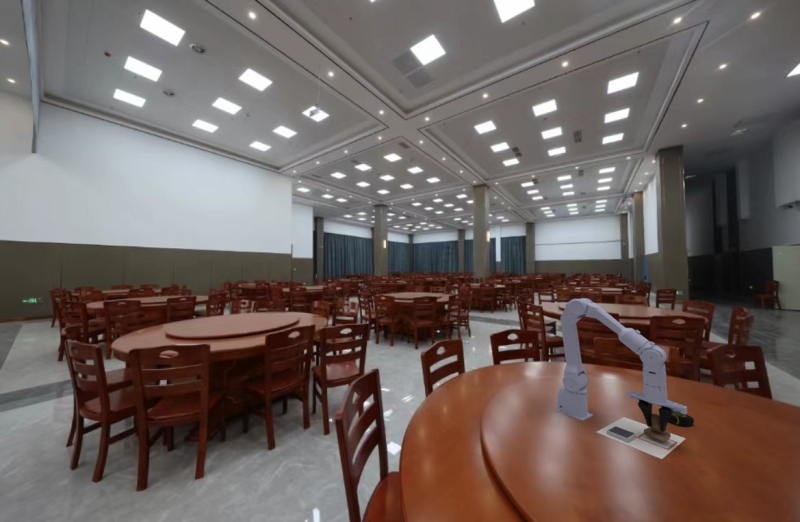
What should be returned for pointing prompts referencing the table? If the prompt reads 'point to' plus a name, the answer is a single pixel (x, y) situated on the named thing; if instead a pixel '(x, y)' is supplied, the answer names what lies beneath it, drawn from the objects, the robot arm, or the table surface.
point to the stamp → (656, 429)
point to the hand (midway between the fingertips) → (656, 428)
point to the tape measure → (681, 419)
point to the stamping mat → (639, 437)
